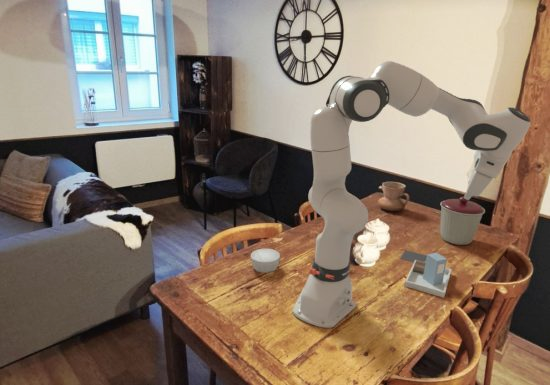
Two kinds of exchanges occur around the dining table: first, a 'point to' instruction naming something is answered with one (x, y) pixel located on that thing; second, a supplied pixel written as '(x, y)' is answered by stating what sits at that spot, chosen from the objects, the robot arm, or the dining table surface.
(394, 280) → the dining table surface
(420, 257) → the mat
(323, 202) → the robot arm
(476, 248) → the dining table surface
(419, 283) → the tray
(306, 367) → the dining table surface
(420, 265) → the walnut block
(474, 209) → the canister
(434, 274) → the blue box
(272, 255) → the ramekin
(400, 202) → the ceramic jug
